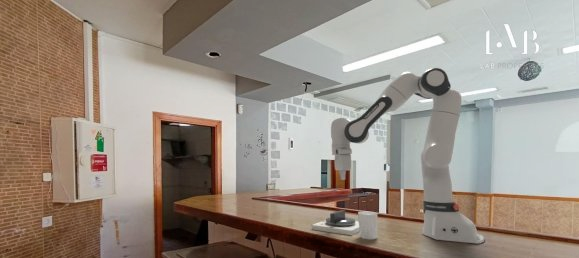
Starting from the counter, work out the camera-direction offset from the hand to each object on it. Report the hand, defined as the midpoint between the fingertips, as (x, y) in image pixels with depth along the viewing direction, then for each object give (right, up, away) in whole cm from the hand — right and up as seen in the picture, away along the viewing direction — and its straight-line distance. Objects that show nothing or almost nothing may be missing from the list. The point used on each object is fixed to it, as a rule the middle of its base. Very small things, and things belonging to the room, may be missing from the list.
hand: (342, 179), depth 135 cm
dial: (-2, -20, -2) cm, 21 cm away
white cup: (+7, -21, -18) cm, 29 cm away
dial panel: (-1, -23, -1) cm, 23 cm away
